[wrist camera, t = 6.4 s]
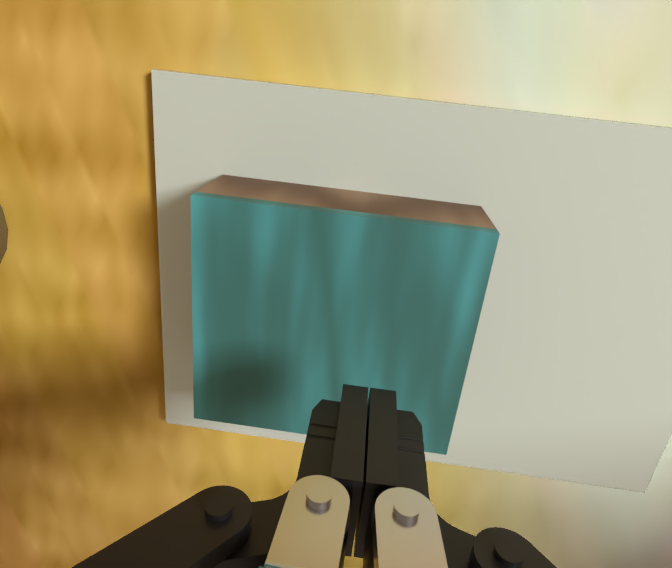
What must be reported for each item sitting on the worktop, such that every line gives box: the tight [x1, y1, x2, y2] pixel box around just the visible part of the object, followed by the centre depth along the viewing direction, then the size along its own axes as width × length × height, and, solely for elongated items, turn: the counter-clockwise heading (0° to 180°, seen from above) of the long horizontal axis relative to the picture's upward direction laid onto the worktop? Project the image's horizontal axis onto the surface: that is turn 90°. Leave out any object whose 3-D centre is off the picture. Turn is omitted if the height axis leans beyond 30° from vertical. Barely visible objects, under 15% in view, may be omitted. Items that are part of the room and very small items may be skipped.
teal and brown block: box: [191, 175, 500, 455], centre depth 20 cm, size 4×9×10 cm
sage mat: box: [151, 70, 672, 492], centre depth 21 cm, size 23×16×1 cm
